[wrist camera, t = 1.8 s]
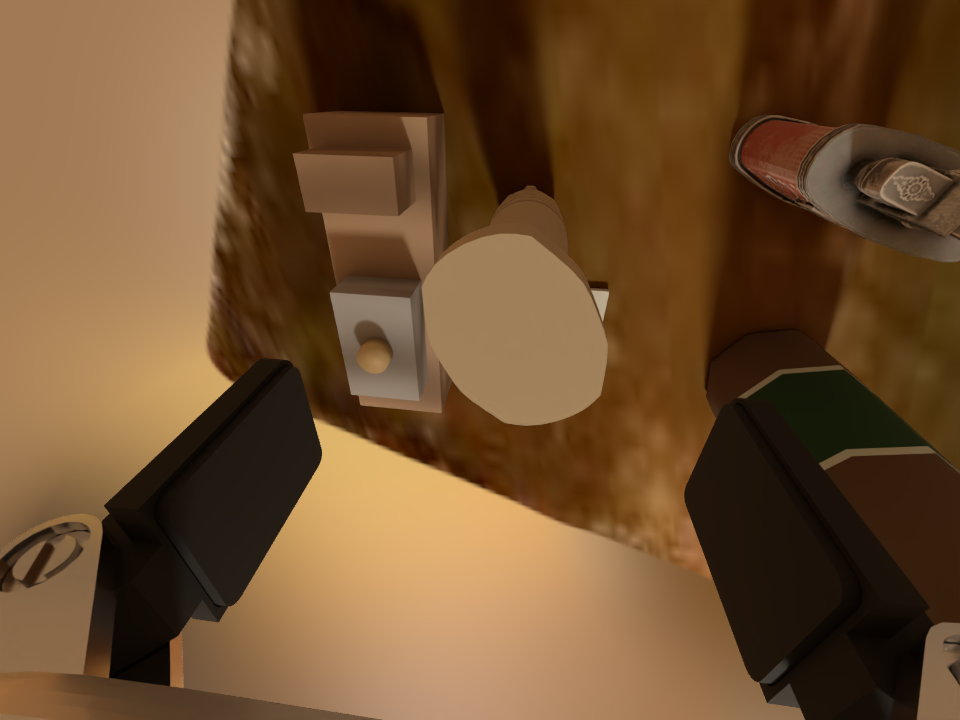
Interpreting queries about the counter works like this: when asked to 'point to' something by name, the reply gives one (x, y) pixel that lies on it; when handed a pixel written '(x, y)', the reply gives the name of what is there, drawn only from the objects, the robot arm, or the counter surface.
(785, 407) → the brown glass bottle
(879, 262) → the counter surface
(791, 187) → the lighter
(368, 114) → the body
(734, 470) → the robot arm
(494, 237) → the handle
